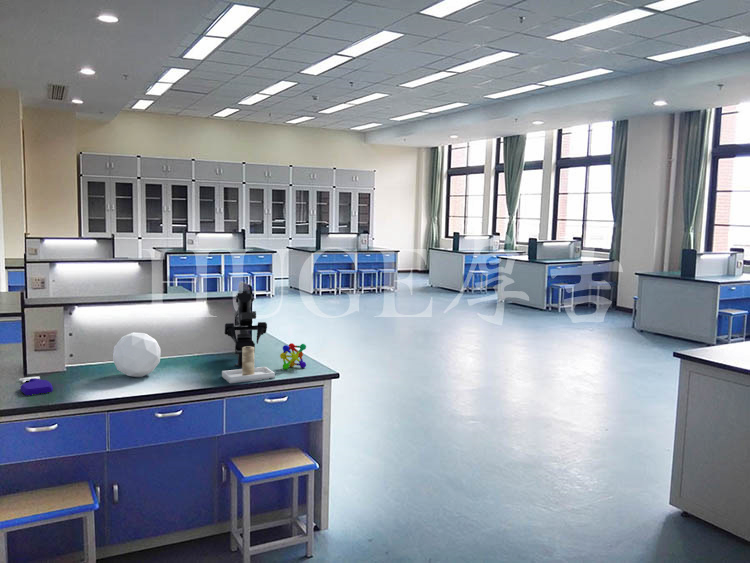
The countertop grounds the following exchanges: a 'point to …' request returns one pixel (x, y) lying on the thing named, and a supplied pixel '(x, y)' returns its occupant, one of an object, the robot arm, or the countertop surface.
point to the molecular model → (293, 356)
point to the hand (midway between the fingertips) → (246, 343)
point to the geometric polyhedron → (136, 354)
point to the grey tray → (236, 375)
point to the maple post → (247, 361)
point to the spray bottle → (35, 386)
